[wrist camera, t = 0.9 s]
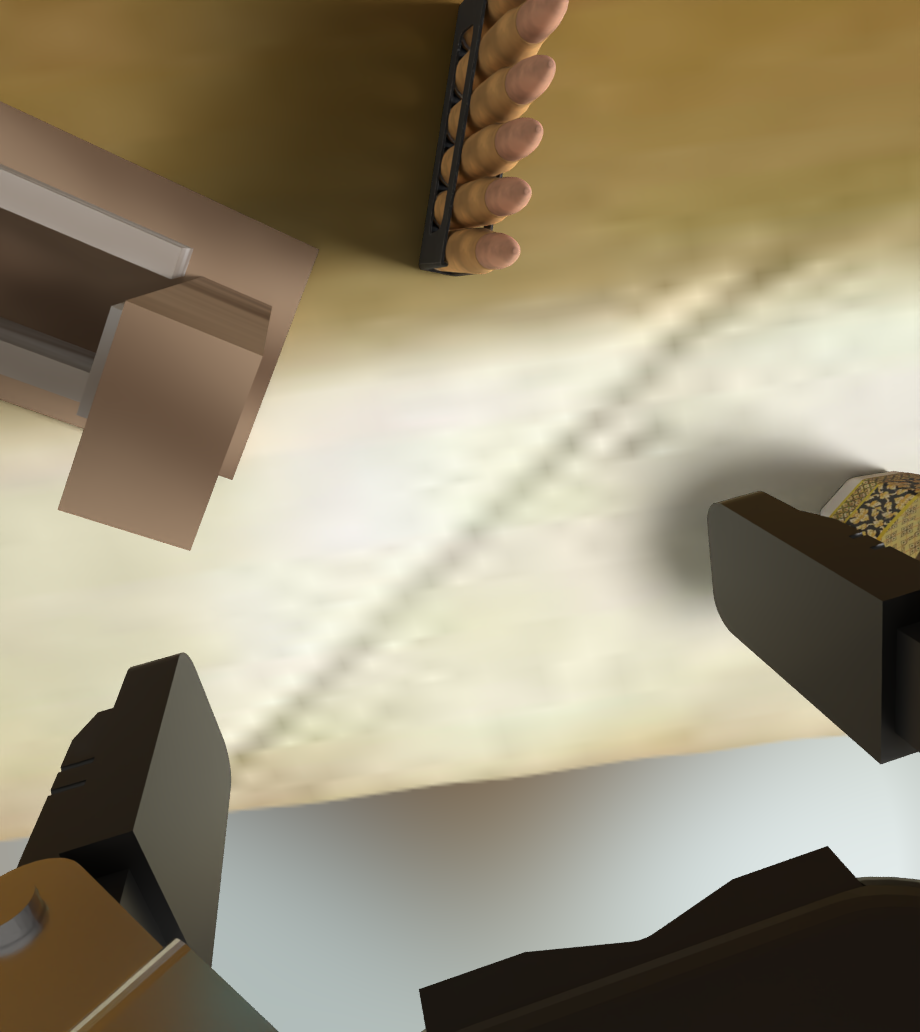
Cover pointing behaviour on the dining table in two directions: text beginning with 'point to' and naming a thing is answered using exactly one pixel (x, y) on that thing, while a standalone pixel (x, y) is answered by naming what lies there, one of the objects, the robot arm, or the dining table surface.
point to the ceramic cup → (881, 508)
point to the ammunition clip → (487, 132)
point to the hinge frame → (136, 324)
